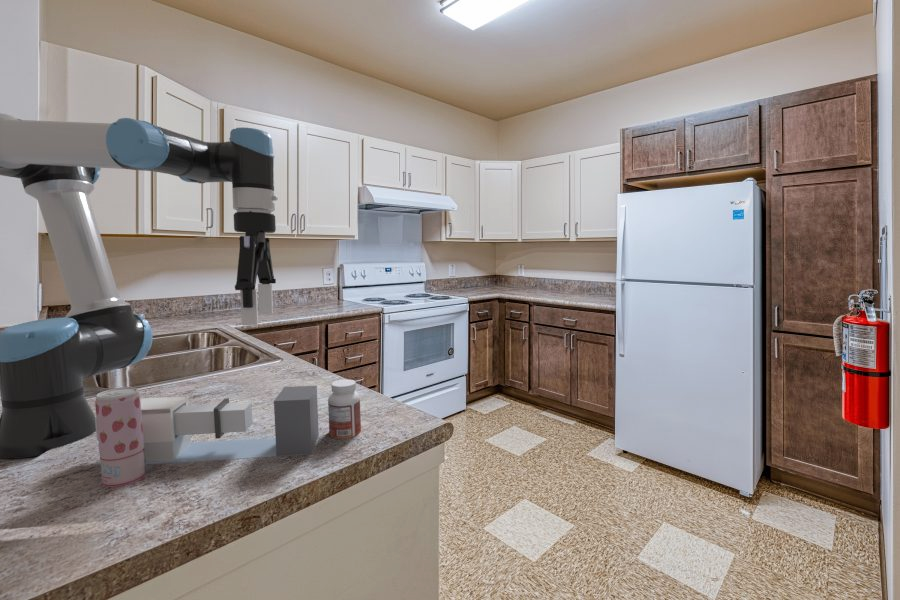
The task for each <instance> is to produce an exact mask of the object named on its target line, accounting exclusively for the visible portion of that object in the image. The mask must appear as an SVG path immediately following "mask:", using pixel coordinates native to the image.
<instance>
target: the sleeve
mask: <svg viewBox="0 0 900 600" xmlns="http://www.w3.org/2000/svg"><path fill="white" fill-rule="evenodd" d="M140 402H141V414H142V425H143V437H144V448H145V459H146V463H147V462H163V461H174V460H176V459H177V458H178V457H179V456H180V455H181V454H182V453H183V452H184V451H185V450H186V449H187V448H188V447H189V446H190V445H191V443H192V439H191V437H192V436H191V435H175V433H174V420H173V411H174V410H175V409H177V408H178V407H179V406H181V405H189V397H188V395H182V396H181V395H179V396H177V395H176V396H175V395H174V396H156V397H140Z"/></svg>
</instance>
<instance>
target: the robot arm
mask: <svg viewBox="0 0 900 600" xmlns="http://www.w3.org/2000/svg"><path fill="white" fill-rule="evenodd" d="M274 158H275V155H274V148H273V138H272V136H271V135H270V134H269V133H268V132H266V131H264V130H262V129H258V128H253V127H252V128H251V127H244V126H243V127H236V128H233V129H231V130H230V133H229V138H228V141H221V142H220V141H219V142H216V141H215V142H209V141H203V140H200V139H198V138H194V137H191V136H189V135H185V134H182V133H178V132H175V131H172V130H170V129H167V128H164V127H161V126H157V125H155V124H152V123H151V122H149V121H145V120H140V119H139V120H138V119H135V118H131V117H122V118H118V119H117V120H116V121H115V122H112V123H110V122H109V123H106V122H105V123H104V122H83V121H81V122H80V121H79V122H78V121H57V120H56V121H52V120H49V121H48V120H27V119H19V118H17V117H14V116H13V115H9V114H7V113H1V112H0V176H3V177H9V178H16V179H20V181H21V183H22V187H23V190H24V192H25V194H27V195H28V196H30V197H31V198H32V197H33V198H34V199H36V200H37V203H38V206H39V209H40V213H41V216H42V218H43V222H44V226H45V228H46V231H47V234H48V238H49V241H50V244H51V247H52V250H53V253H54V254H53V255H54V257H55V261H56V264H57V266H58V269H59V272H60V276H61V279H62V282H63V285H64V288H65V291H66V294H67V298H68V301H69V304H70V307H71V308H70V310H69V312H68V313H67V314H66V315H65V317H51V318H50V317H49V318H44V319H37V320H32V321H31V320H30V321H27V322H22V323H18V324H15V325H12V326H9V327H6V328H4V329H2V330H1V331H0V399H1V409H2V410H1V414H0V458H1V459H24V458H32V457H38V456H41V455H43V454H45V453H47V452H48V451H50V450H52V449H57V448H60V447H63V446H66V445H71V444H73V443H76V442H78V441H81V440H83V439H85V438H87V437H89V436H92V434H94V433H96V425H95V417H96V414H95V413H94V412H93V410H92V408H91V406H90V404H89V402H88V401H87V398H86V396H85V392H84V381H83V379H86V378H90V377H93V376H96V375H100V374H104V373H108V372H111V371H114V370H119V369H120V370H121V369H125V368H127V367H129V366H131V365H134V364H136V363H138V362H140V361H142V360H143V359H144V358H145V357H146V356H147V355H148V354H149V353H148V352H149V351H150V350H151V348H152V345H153V339H154V338H153V330H152V327H151V325H150V323H149V321H148V320H147V319H146V318H144V317H143V315H141V314H137V313H134V312H133V309H132V306H131V303H129V302H126V301H125V300H123V299H122V298H121V297H120V295H119V294H120V293H119V291H118V287H117V284H116V281H115V278H114V275H113V272H112V268H111V265H110V261H109V258H108V255H107V251H106V249H105V246H104V243H103V238H102V236H101V233H100V229H99V227H98V223H97V219H96V217H95V213H94V210H93V205H92V204H91V203H92V202H91V200H90V197H89V196H90V194H91V193H92V192H93V191H94V190H95V185H94V184H95V183H96V182H97V181H98V180H99V177H100V173H99V172H101V169H117V170H120V169H121V170H131V171H146V172H156V173H161V174H168V175H172V176H176V177H179V178H180V180H182V181H184V182H187V183H195V184H196V183H198V184H205V183H231V185H232V189H231V190H232V209H233V210H234V211H235V212H234V213H233V228H234V229H233V230H234V232H236V233H245V235H240V236H239V239H238V240H239V253H238V263H237V272H236V273H237V275H236V281H235V282H236V283H235V285H234V290H235V291H239V292H240V295H239V296H240V316H241V326H258V325H259V315H273V314H274V313H273V312H274V310H273V309H274V308H273V307H274V305H273V303H274V302H273V284H276V282H277V281H276V278H275V276H274V269H273V263H272V262H273V261H272V254H271V247H270V244H271V243H270V242H271V241H270V238H269V237H266V236H265V234H273V233H275V232H276V229H277V228H276V225H277V224H276V215H275V214H273V213H272V212H274V211H275V209H276V208H275V202H276V201H278V195H275V182H274V175H275V174H274V160H275V159H274ZM257 277H258V282H259V283H258V284H257ZM256 284H257V289H256Z"/></svg>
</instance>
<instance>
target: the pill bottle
mask: <svg viewBox="0 0 900 600" xmlns="http://www.w3.org/2000/svg"><path fill="white" fill-rule="evenodd" d="M356 383H357V382H356V380H354V379H339V380H335V381H333V382H331V392H332V393H331V394H330V395H329V396H328V397H327V403H328V404H327V405H328V408H327V409H328V428H329V430H328V431H329V432H328V434H329V436H330V437H331V438H336V439H350V438H353V437H356V436H358V435H359V434H360V433H361V432H362V423H361V422H362V421H361V419H362V418H361V417H362V416H361V397H360V394H359V393H358V392H357V391H356V388H357V384H356Z"/></svg>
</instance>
